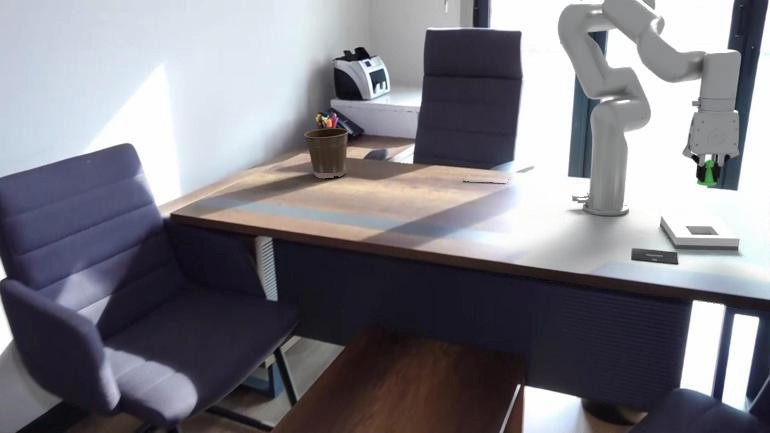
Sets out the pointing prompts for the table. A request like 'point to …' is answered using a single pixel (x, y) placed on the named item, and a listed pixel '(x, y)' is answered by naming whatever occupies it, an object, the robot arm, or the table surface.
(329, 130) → the plant pot
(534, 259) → the table surface
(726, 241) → the white square slotted base
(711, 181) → the game piece
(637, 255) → the solid state drive
